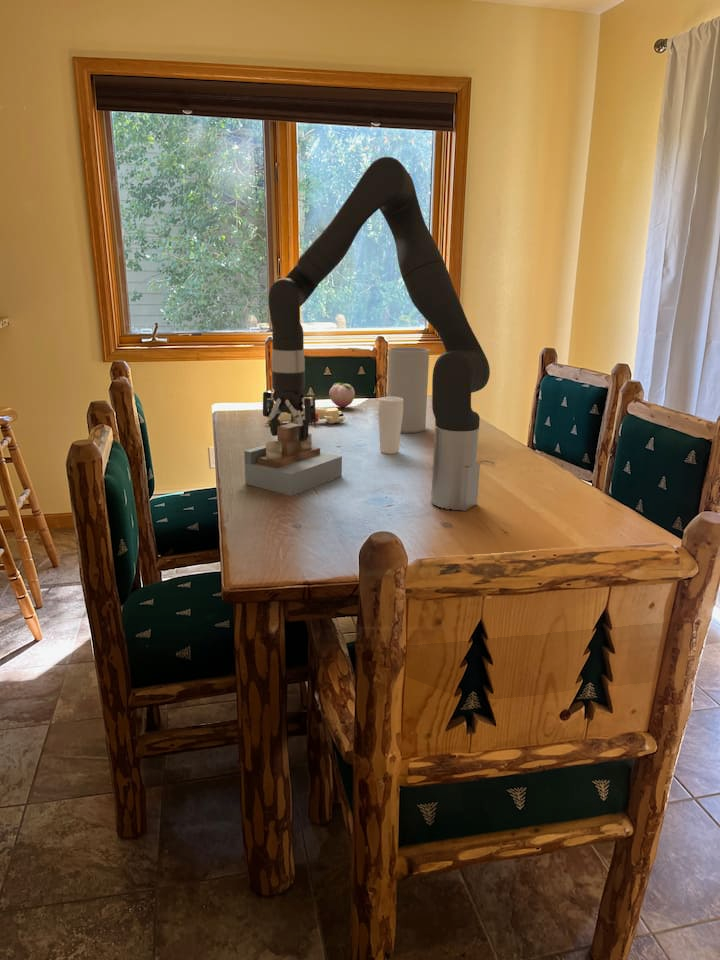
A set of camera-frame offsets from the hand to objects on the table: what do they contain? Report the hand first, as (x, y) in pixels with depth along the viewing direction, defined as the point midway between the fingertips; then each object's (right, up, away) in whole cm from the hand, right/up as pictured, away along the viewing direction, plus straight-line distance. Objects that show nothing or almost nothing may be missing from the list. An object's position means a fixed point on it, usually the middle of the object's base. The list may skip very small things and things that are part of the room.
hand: (289, 437), depth 162 cm
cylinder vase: (+31, +6, +56) cm, 64 cm away
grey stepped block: (+1, -10, +2) cm, 10 cm away
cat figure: (-1, +8, +61) cm, 62 cm away
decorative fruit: (+10, +16, +86) cm, 88 cm away
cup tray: (0, -5, +1) cm, 5 cm away
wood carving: (-2, -1, +32) cm, 32 cm away
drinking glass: (+25, -2, +28) cm, 38 cm away
